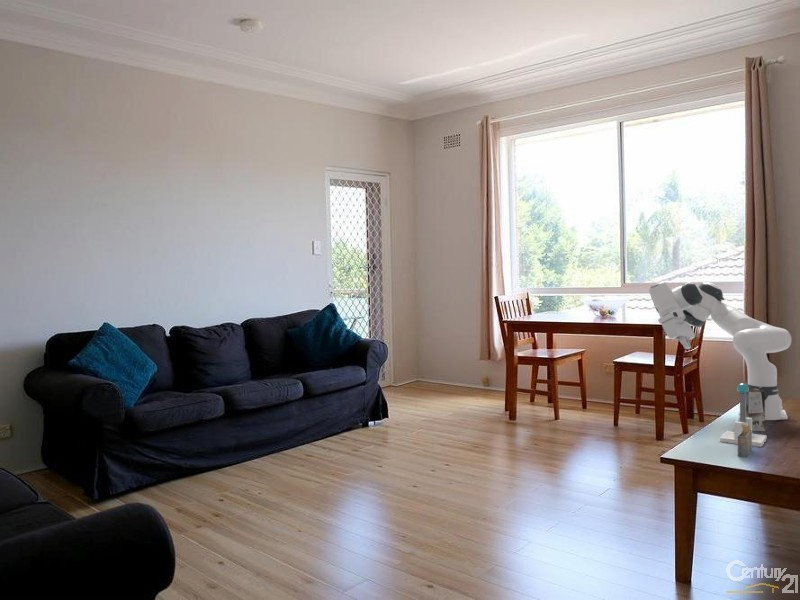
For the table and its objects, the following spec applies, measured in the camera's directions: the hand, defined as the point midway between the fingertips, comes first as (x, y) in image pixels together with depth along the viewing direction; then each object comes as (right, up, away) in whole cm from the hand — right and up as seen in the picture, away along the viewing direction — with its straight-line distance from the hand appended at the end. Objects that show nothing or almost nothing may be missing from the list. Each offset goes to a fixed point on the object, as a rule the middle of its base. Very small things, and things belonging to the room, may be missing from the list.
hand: (688, 348), depth 260 cm
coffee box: (+28, -33, +3) cm, 43 cm away
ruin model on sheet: (+7, -36, -29) cm, 47 cm away
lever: (+15, -31, -14) cm, 37 cm away
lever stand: (+15, -34, -14) cm, 40 cm away
